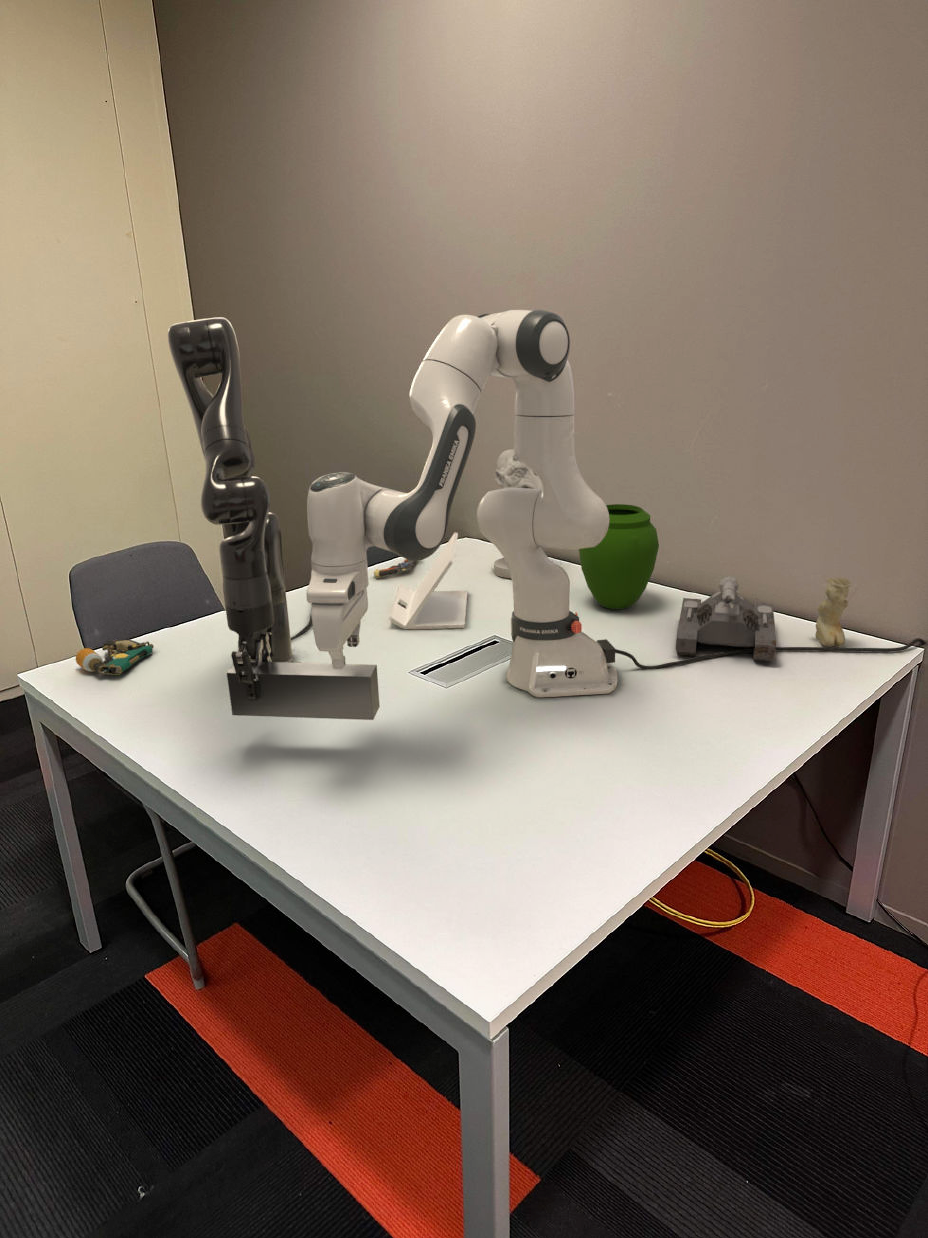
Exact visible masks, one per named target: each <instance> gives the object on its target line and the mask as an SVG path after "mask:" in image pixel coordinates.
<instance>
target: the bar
mask: <svg viewBox="0 0 928 1238" xmlns="http://www.w3.org/2000/svg"><path fill="white" fill-rule="evenodd" d="M252 670H253V667H252ZM378 678H379V676H378V665H377V664H361V663H359V664H358V663H346V664H345V666H344V667H343V669H334V668H333V666H332V663H327V662H326V663H323V662H322V663H321V662H315V663H314V662H291V663H287V662H262V664H261V666H260V667H259V678H258V679H259V686H260V694H261V698H260V700H259V701H249V700H248V699H247V695H246V687H245V682H238V680H237V676H236V672H235V668H234V665H232V666H231V668H230V669H229V670H228V671H227V672H226V679H227V685H228V692H229V693H228V694H229V700H230V709H231V715H232V716H238V717H239V716H242V717H243V716H244V717H271V718H273V717H274V718H298V719H299V718H303V719H307V718H308V719H332V720H363V721H374V720H375V717H376V715H377V713H378V711H379V709H380V707H381V706H380V705H381V704H380V693H379V679H378Z"/></svg>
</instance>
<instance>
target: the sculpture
mask: <svg viewBox="0 0 928 1238" xmlns="http://www.w3.org/2000/svg"><path fill="white" fill-rule="evenodd" d="M826 581H827V586H826V588H825V590H824V593H825V595H826V596H827V598H826V600H824V601H822V602H821V603H820V604H819V605H818V606H817V609H816V610H817V612H818V614H819V616H818V617H817V619H816V623H815V630H816V631H815V634H814V635H815V639H817V640H819V642H820V643H821V644H822V645H823V646H825V647H836V648H839V647H843V646H844V645H845V643H846V642H845V641H846V636H845V632H844V630H843V626H842V624H841V622H840V621H841V617H842V615H843V612H844V610H845V609H846V608H847V606H848V604H849V603H848V602H849V601H847V598H848V597H849V592H850V586H851V585H852V582H850V580H848V579H847V578H845V577H841V576H840V577H835V578H831V577H827V578H826Z"/></svg>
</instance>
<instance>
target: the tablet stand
mask: <svg viewBox="0 0 928 1238" xmlns="http://www.w3.org/2000/svg"><path fill="white" fill-rule="evenodd" d="M458 537H459V533H458V532H456V531H455V532H453V534H452V535H451V537H450V539H449V540H448V542H447V543H446V544H445V546H444V548H443V549H442V551H441V552H440V554H439V555H438V556H437V558H436V559H435V561H434V562H433V564H432V565H431V567H430V568H429V569H428V571H427V573H426V574H425V575H424V577H423V579H422V580H421V581H420V583H419V584H418V585H417V587H416V589H415V590H412V589H410V588H409V587H407V586H406V585H403V584H400V585H399V586H398V589H397V591H396V595H395V598H394V601H393V604H392V607H391V610H390V612H389V613H390V614H389V617H388V621H389V622H391V623H392V624H394V625H396V626H398V627H399V628H401V629H402V630H426V629H427V630H429V629H430V630H431V629H435V630H436V629H437V630H438V629H464V628H465V627H466V618H467V617H466V616H467V605H468V591H467V590H436V589H437V587H438V585H440V582H441V581H442V580H443V578H444V577H445V575H446V574H447V573H448V571H449V570H450V569H451V567H452V566H453V564H454V562H455V558H456V553H457V545H458ZM399 603H400V604H399ZM402 605H403V606H405V607H403V606H402Z"/></svg>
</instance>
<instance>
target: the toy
mask: <svg viewBox="0 0 928 1238" xmlns="http://www.w3.org/2000/svg"><path fill="white" fill-rule="evenodd" d="M739 587H740V586H739V582H738V579H737V578H735V577H734V576H730V575H729V576H725V577H723V578H722V579H721V580H720V581H719V584H718V588H719V589H718V591H717V592H716V593H714V594H712V595H710V596H709V597H708V598H706V599H705V600H703V601H702V599H701V598H690V597H689V598H688V597H683V598H682V602H681V609H680V613H679V620H678V625H677V631H676V638H675V651H676V655H678V656H690V657H696V653H697V643H700V644H702V645H714V646H726V647H739V648H750V647H752V649H753V652H752V654H753V655H752V656H753V657H752V658H753V659H752V660H754V661H763V662H765V661H766V662H773V661H774V660H775V657H776V653H777V651H776V647H778V645H777V643H778V641H777V631H776V622H775V611H774V604H772V603H761V602H753V605H752V603H751V602H750V601H748V600H747V599H746V598H745V597H744V596H743V595H741V594H740V593H738V592H737V591H738V590H739Z"/></svg>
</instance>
